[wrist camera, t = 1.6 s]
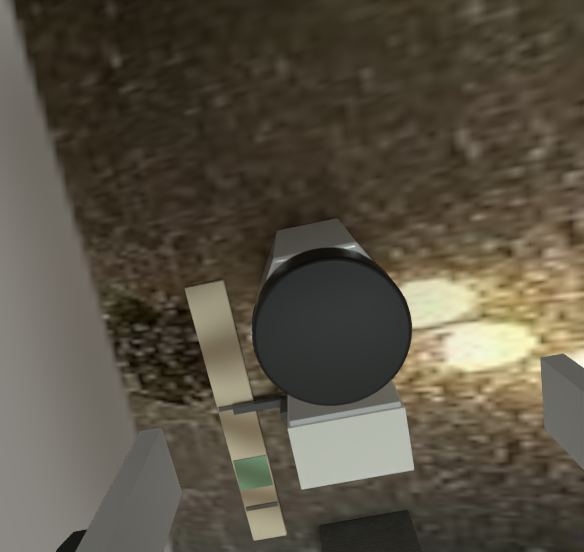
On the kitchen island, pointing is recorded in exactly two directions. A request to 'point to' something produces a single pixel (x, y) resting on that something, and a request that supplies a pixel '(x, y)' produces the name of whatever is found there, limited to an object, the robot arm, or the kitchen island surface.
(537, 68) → the kitchen island surface
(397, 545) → the two-tone gray brick
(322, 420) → the carriage
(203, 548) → the kitchen island surface
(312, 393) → the jar
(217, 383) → the strip
